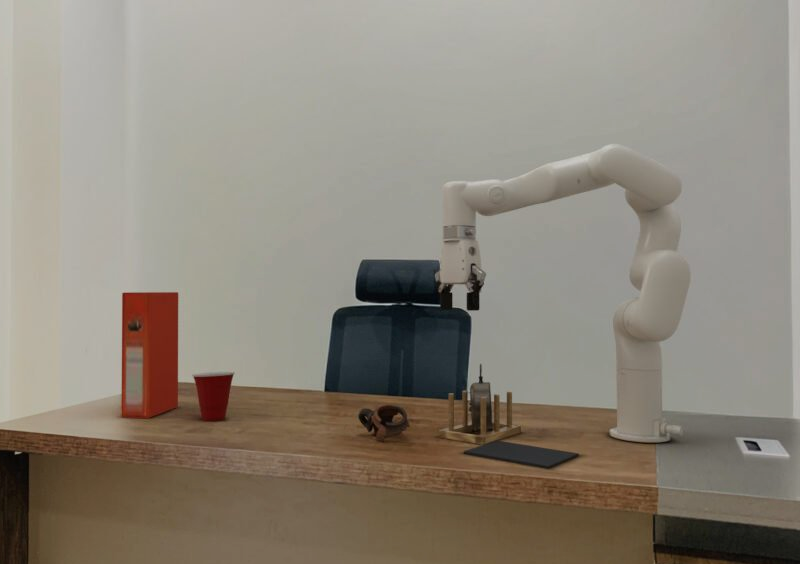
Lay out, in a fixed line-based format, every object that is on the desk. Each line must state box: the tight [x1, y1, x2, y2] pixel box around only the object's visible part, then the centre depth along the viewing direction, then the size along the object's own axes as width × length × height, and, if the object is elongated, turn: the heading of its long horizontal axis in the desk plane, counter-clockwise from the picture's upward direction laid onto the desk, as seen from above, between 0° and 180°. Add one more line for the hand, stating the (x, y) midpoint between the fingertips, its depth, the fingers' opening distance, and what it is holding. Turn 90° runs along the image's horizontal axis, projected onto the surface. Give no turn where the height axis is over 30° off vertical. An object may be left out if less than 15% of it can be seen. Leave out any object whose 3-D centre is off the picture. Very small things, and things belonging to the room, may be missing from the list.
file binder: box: [120, 291, 179, 419], centre depth 190 cm, size 8×17×32 cm, turn 168°
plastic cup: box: [191, 371, 235, 422], centre depth 180 cm, size 11×11×12 cm
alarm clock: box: [468, 363, 494, 434], centre depth 163 cm, size 11×5×16 cm, turn 168°
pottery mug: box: [357, 403, 410, 442], centre depth 159 cm, size 12×10×8 cm
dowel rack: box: [438, 390, 522, 445], centre depth 163 cm, size 11×18×10 cm, turn 139°
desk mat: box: [463, 440, 580, 470], centre depth 143 cm, size 18×14×1 cm
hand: (459, 309), depth 163 cm, fingers open, 9 cm apart
